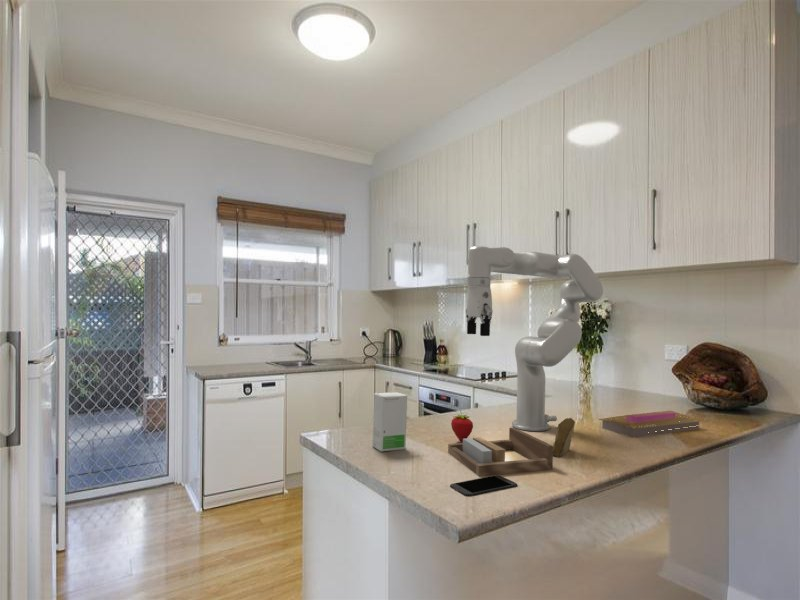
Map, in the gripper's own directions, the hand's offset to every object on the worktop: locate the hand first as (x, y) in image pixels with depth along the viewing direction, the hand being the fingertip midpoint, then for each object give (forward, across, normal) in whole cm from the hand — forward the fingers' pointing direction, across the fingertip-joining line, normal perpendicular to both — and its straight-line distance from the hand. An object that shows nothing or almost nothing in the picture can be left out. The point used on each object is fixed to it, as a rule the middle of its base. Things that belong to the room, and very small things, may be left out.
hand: (478, 334), depth 155 cm
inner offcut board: (+32, -28, +10) cm, 44 cm away
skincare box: (+32, -10, +33) cm, 47 cm away
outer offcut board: (+32, -28, +14) cm, 45 cm away
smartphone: (+33, -43, +20) cm, 58 cm away
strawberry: (+32, -10, +10) cm, 35 cm away
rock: (+33, -25, -14) cm, 43 cm away
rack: (+32, -28, +8) cm, 43 cm away
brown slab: (+33, -9, -64) cm, 73 cm away
